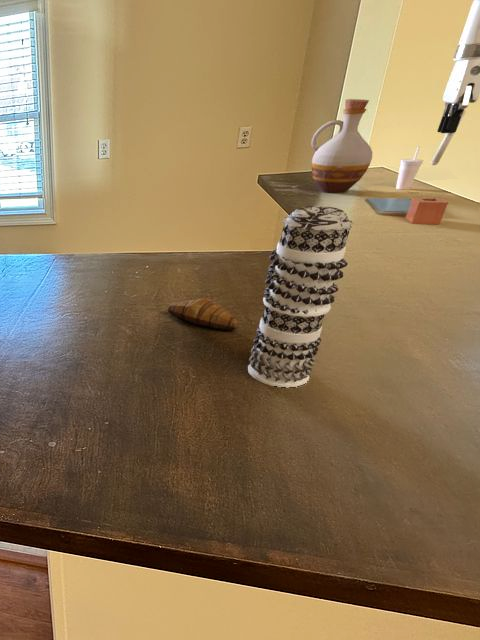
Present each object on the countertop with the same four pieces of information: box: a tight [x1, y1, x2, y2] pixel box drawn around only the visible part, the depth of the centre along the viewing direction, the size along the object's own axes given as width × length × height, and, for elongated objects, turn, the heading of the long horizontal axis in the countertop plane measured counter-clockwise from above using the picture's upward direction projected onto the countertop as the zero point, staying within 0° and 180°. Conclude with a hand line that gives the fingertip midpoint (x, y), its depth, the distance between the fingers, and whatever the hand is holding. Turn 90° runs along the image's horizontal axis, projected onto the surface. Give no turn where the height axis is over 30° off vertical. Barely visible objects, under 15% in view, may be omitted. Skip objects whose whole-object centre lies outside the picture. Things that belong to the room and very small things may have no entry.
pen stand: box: [405, 196, 449, 225], centre depth 136 cm, size 6×6×6 cm
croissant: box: [167, 297, 239, 331], centre depth 90 cm, size 14×7×5 cm, turn 43°
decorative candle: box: [247, 205, 355, 389], centre depth 68 cm, size 9×9×25 cm
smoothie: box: [395, 146, 424, 191], centre depth 169 cm, size 6×6×14 cm
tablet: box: [364, 197, 412, 216], centre depth 151 cm, size 14×20×1 cm
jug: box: [311, 98, 373, 194], centre depth 170 cm, size 20×18×30 cm
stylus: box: [430, 109, 466, 166], centre depth 131 cm, size 2×2×14 cm
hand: (446, 132), depth 130 cm, fingers closed on stylus, 1 cm apart
